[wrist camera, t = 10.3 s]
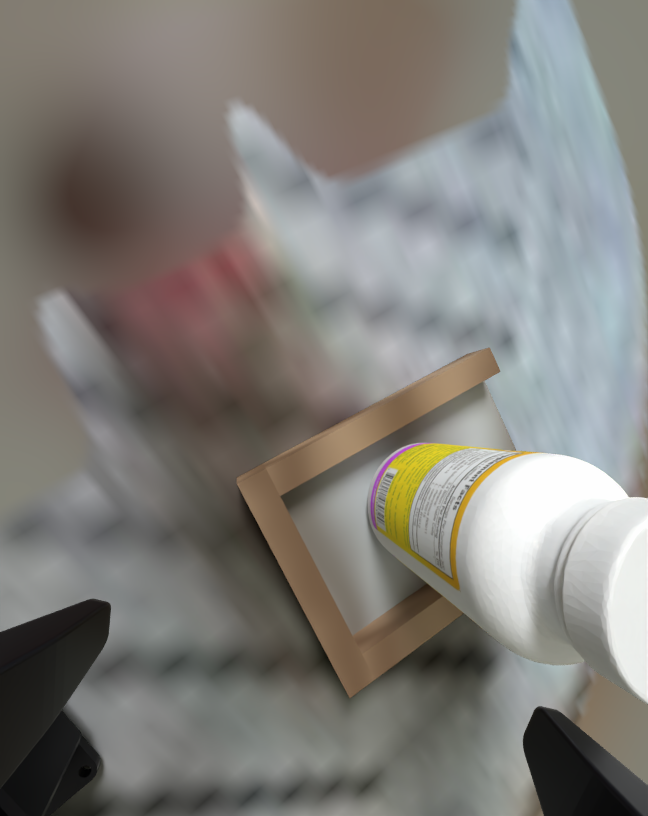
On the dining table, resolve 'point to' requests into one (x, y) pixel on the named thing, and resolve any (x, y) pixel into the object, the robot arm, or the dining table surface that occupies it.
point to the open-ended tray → (367, 518)
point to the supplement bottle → (525, 550)
